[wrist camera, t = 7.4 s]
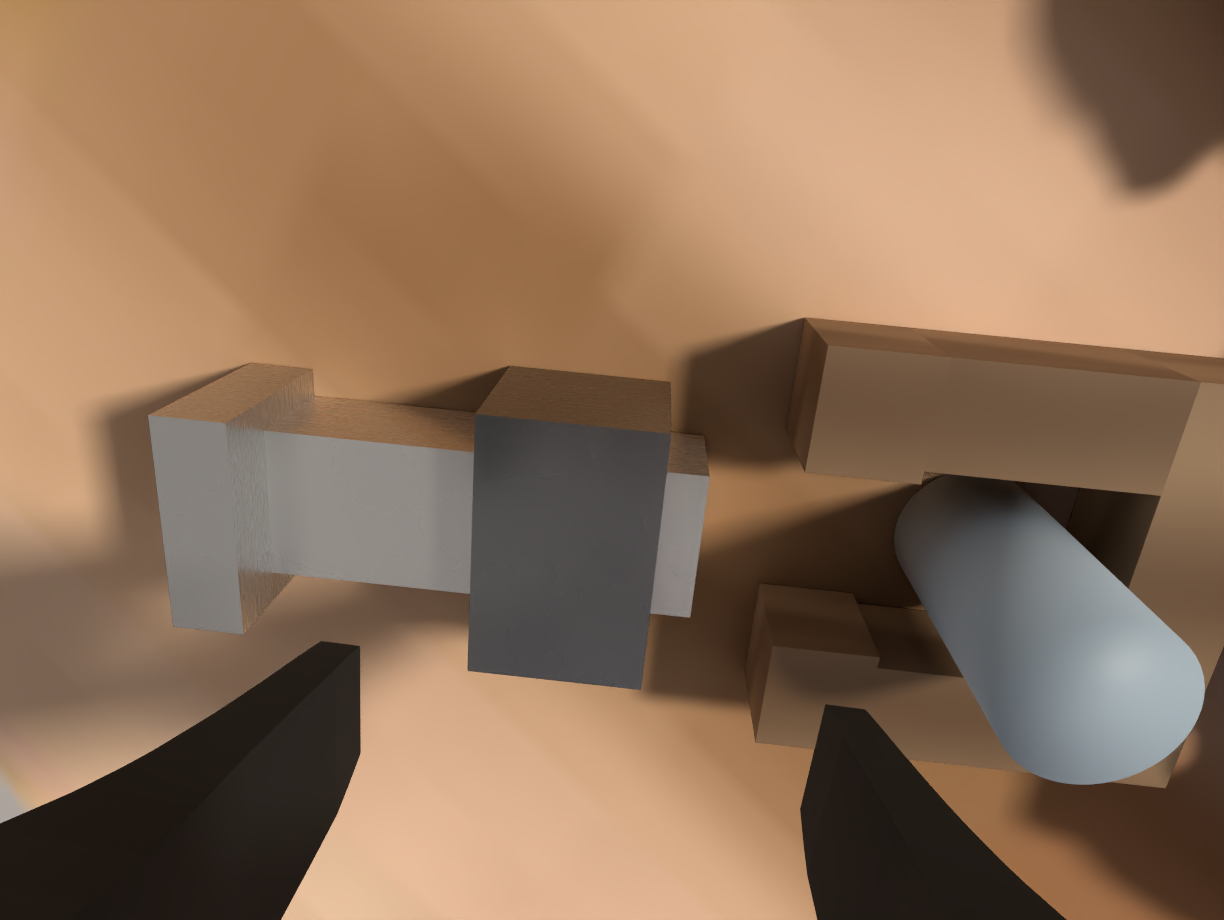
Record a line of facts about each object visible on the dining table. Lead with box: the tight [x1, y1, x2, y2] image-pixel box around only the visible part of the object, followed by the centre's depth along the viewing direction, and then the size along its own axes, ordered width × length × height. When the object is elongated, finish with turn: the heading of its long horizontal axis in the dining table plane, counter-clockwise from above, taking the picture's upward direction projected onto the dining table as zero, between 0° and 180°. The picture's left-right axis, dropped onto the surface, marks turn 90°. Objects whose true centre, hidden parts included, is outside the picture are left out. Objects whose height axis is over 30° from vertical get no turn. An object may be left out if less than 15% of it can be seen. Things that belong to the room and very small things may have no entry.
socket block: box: [745, 318, 1224, 788], centre depth 20 cm, size 10×10×3 cm
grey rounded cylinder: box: [894, 474, 1205, 785], centre depth 18 cm, size 4×4×7 cm
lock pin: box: [148, 363, 710, 634], centre depth 20 cm, size 5×12×4 cm, turn 85°
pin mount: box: [468, 366, 671, 690], centre depth 20 cm, size 6×4×4 cm, turn 175°
